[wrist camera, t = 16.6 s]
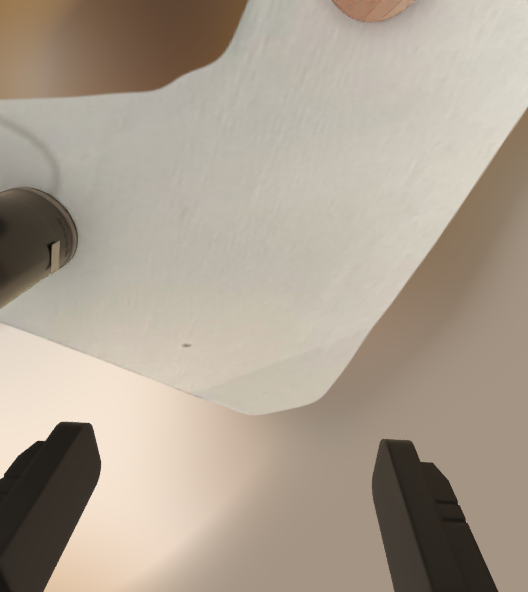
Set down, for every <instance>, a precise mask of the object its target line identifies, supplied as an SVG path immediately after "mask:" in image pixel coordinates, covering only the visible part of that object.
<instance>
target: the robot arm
mask: <svg viewBox="0 0 528 592" xmlns="http://www.w3.org/2000/svg"><path fill="white" fill-rule="evenodd" d="M76 246H77V235H76V230H75V227H74V224H73V222H72V220H71V218H70V216H69V214H68V213H67V212H66V210H65V209H64V208H63V207H62V206H61V205H60V204H59V203H58V202H57V201H56V200H55V199H53V198H52V197H50V196H49V195H47V194H45V193H43V192H41V191H39V190H36V189H32V188H25V187H18V188H13V189H9V190H6V191H3V192H1V193H0V309H1V308H2V307H4V306H5V305H7V304H8V303H9V302H11V301H12V300H14V299H15V298H16V297H18V296H19V295H21V294H22V293H24V292H25V291H26V290H28V289H29V288H31V287H32V286H34V285H35V284H36V283H38V282H39V281H41V280H42V279H44V278H45V277H47V276H48V275H49V274H52V273H53V272H55V271H56V270H58V269H59V268H61V267H62V266H64V265H65V264H67V263H68V262H69V261H70V260H71V258H72V257H73V255H74V253H75V250H76ZM100 471H101V460H100V455H99V451H98V447H97V443H96V439H95V435H94V430H93V427H92V425H91V424H90V423H79V422H60V423H59V424H58V425H57V426H56V427H55V428H54V430H53V431H52V432H51V434H50V435H49V437H48V438H47V440H46V441H37V442H35V443H34V444H33V445H32V446H30V447H29V448H28V449H27V450H25V451H24V452H23V453H21V454H20V455H19V456H18V457H17V458H16V460H15V461H14V462H13V463H12V465H11V466H10V467H9V469H8V470H7V471H6V473H5V474H4V477H3V478H1V479H0V592H43V591H44V589H45V587H46V585H47V583H48V581H49V579H50V577H51V575H52V573H53V571H54V569H55V567H56V565H57V563H58V561H59V559H60V557H61V555H62V553H63V551H64V549H65V547H66V545H67V543H68V541H69V539H70V537H71V535H72V533H73V531H74V529H75V527H76V525H77V523H78V521H79V519H80V517H81V515H82V513H83V511H84V509H85V506H86V505H87V503H88V501H89V499H90V497H91V495H92V493H93V491H94V488H95V486H96V485H97V482H98V479H99V475H100ZM372 494H373V500H374V504H375V509H376V514H377V518H378V522H379V527H380V531H381V535H382V539H383V544H384V548H385V552H386V557H387V561H388V565H389V570H390V574H391V578H392V582H393V586H394V591H395V592H498V590H497V588H496V586H495V583H494V581H493V579H492V577H491V574H490V572H489V570H488V568H487V566H486V563H485V561H484V559H483V557H482V554H481V552H480V550H479V548H478V545H477V543H476V541H475V539H474V536H473V534H472V532H471V530H470V528H469V525H468V523H466V521H465V516H464V514H463V512H462V510H461V507H460V506H459V505H458V501H457V498H456V496H455V494H454V492H453V490H452V487H451V485H450V483H449V481H448V480H447V478H446V477H445V476H444V475H443V474H442V473H441V472H440V470H439V469H438V468H437V467H436V466H435V465H434V464H433V463H427V462H420V460H419V457H418V455H417V452H416V450H415V447H414V445H413V443H412V442H411V441H409V440H391V439H382V440H381V441H380V445H379V449H378V454H377V458H376V463H375V468H374V472H373V477H372Z"/></svg>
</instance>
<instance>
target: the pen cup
mask: <svg viewBox="0 0 528 592" xmlns="http://www.w3.org/2000/svg"><path fill="white" fill-rule="evenodd" d="M414 1H415V0H333V2H334V3H335V4H336V6H337V7H338V8H339V9H340V10H341V11H342V12H343V13H345V14H346V15H348V16H349V17H351V18H353V19H356V20H359V21H363V22H378V21H383V20H386V19H389V18H391V17H393V16H395V15H397V14H399V13H400V12H401V11H403V10H404V9H405V8H407V7H408V6H409V5H410V4H412V3H413V2H414Z"/></svg>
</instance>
